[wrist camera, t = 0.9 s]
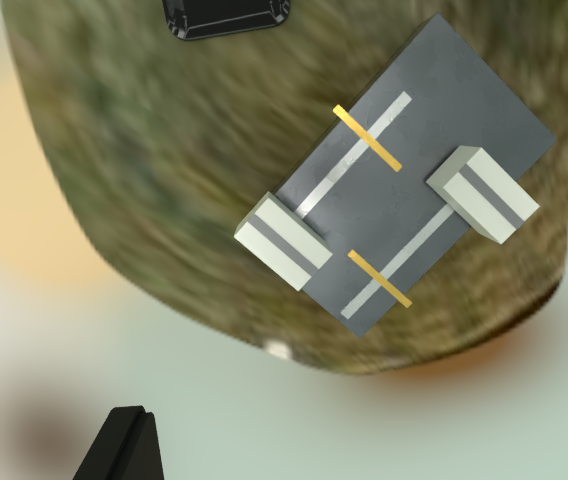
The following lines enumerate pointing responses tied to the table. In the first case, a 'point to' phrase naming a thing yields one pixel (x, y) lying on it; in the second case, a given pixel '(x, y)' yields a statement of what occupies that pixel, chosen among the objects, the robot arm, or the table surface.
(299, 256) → the block
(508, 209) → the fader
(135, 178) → the table surface
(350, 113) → the console
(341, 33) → the table surface
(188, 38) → the phone
